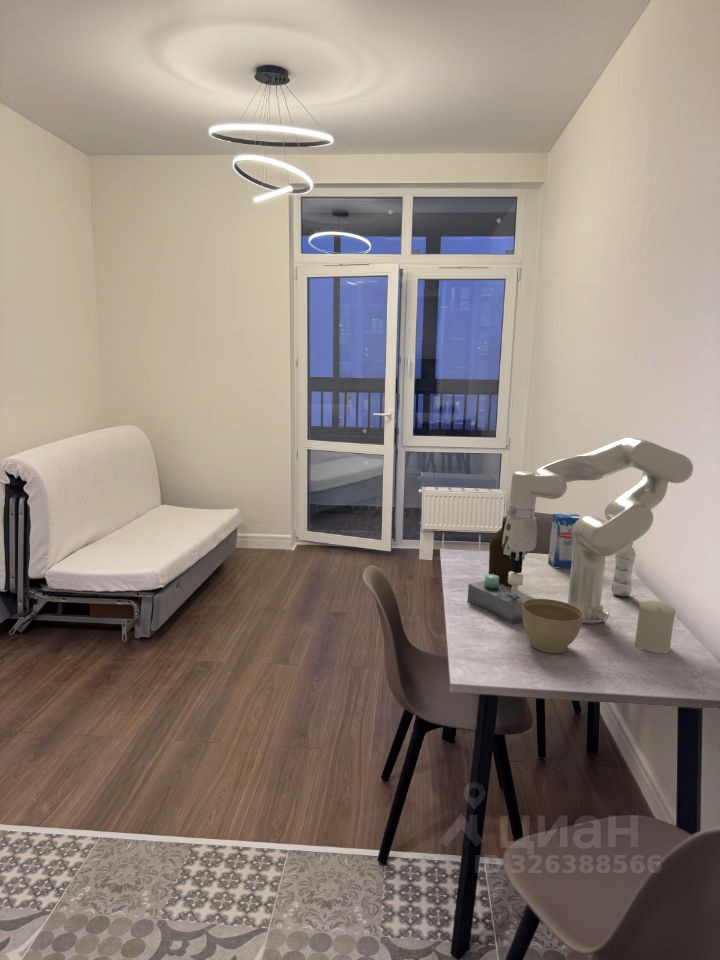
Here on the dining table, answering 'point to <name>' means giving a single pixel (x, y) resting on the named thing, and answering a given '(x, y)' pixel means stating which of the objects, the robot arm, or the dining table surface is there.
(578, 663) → the dining table surface
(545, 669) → the dining table surface
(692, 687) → the dining table surface
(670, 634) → the can
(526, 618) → the planter bowl
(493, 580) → the teal knob
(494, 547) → the olive oil
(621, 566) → the plastic bottle
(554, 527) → the milk carton
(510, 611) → the mount block
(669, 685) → the dining table surface
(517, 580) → the cream knob
